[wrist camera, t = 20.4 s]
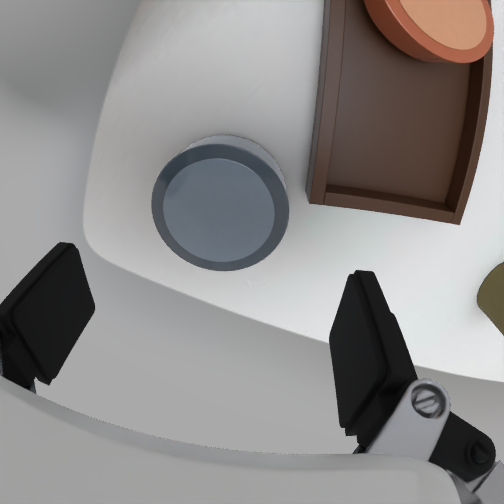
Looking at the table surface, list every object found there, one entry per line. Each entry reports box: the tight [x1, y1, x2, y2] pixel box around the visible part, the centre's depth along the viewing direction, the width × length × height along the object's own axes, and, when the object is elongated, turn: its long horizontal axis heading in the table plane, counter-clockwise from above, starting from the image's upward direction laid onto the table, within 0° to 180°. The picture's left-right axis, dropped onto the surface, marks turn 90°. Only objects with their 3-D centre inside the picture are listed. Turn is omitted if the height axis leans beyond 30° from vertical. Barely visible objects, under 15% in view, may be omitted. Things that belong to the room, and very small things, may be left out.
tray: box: [305, 0, 493, 225], centre depth 12 cm, size 11×18×2 cm, turn 177°
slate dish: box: [151, 135, 289, 271], centre depth 16 cm, size 7×7×4 cm
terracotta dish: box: [364, 0, 494, 63], centre depth 8 cm, size 7×7×4 cm
